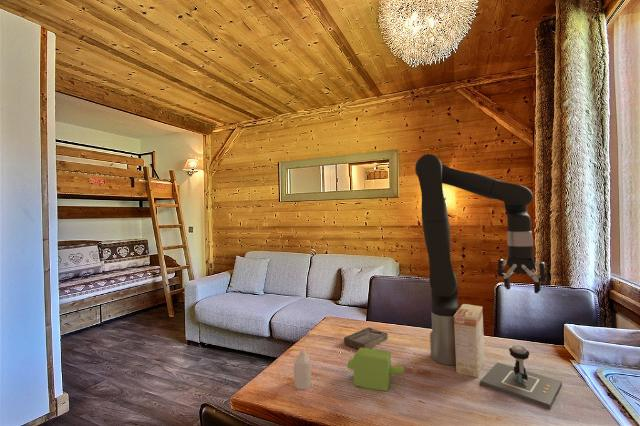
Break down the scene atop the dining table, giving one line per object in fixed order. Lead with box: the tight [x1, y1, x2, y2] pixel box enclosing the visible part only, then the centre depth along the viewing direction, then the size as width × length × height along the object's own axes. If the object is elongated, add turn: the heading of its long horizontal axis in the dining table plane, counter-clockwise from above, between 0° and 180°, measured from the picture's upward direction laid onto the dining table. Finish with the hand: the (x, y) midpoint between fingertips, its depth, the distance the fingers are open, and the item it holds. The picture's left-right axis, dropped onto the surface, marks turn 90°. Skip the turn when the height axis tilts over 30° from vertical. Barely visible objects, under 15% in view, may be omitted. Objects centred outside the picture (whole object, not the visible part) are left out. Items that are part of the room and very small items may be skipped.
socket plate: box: [479, 362, 563, 410], centre depth 98 cm, size 18×16×1 cm
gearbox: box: [347, 348, 405, 392], centre depth 103 cm, size 18×10×10 cm, turn 69°
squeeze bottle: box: [293, 347, 312, 391], centre depth 103 cm, size 6×12×6 cm
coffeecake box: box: [454, 303, 486, 379], centre depth 110 cm, size 15×7×20 cm, turn 144°
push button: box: [508, 345, 530, 385], centre depth 98 cm, size 7×5×10 cm
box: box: [343, 326, 389, 351], centre depth 134 cm, size 11×17×3 cm, turn 135°
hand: (522, 290), depth 109 cm, fingers open, 8 cm apart
